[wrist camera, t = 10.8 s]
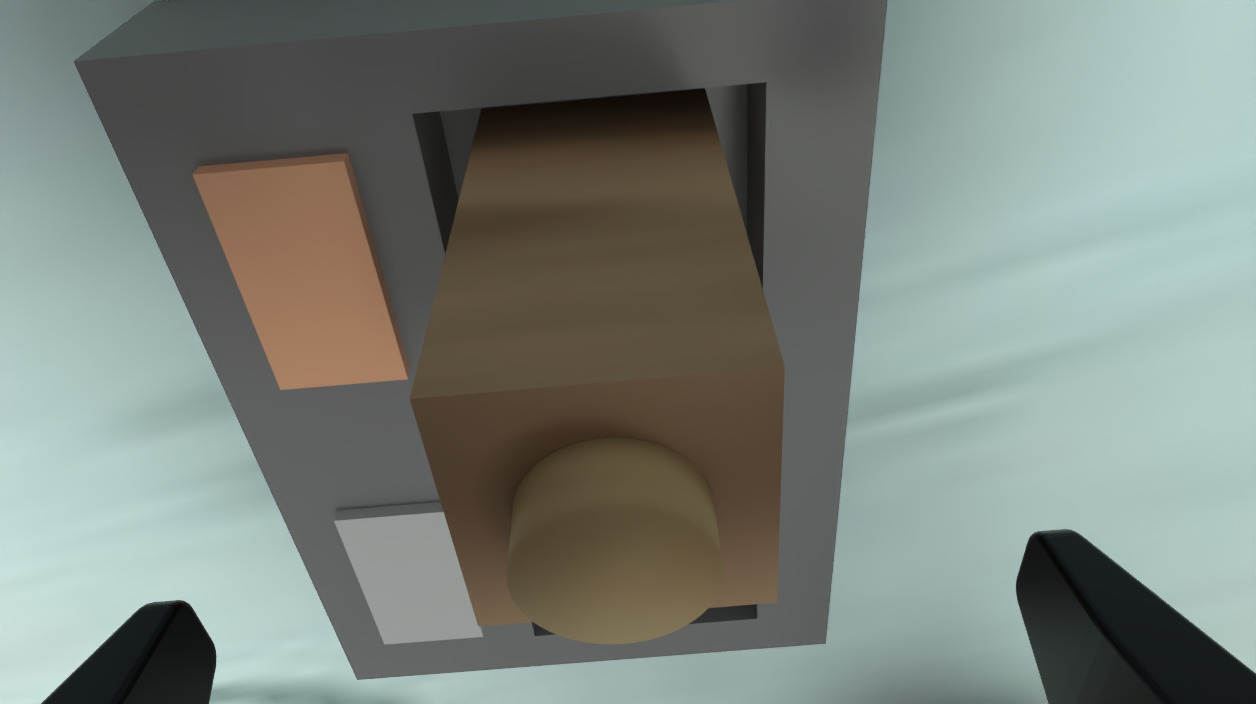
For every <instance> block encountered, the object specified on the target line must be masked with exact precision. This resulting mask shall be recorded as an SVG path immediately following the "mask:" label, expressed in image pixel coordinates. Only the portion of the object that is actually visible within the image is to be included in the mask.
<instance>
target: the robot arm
mask: <svg viewBox="0 0 1256 704" xmlns="http://www.w3.org/2000/svg"><path fill="white" fill-rule="evenodd" d="M1016 594H1017V600H1018V604H1019V607H1020V611H1021V614H1022V617H1023V620H1024V624H1025V627H1026V630H1027V634H1028V637H1029V640H1030V644H1031V647H1032V650H1033V654H1034V657H1035V660H1036V663H1037V667H1038V670H1039V673H1040V677H1041V680H1042V683H1043V687H1044V690H1045V693H1046V696H1047V700H1048V703H1049V704H1256V673H1254V672H1253V671H1252V670H1251V669H1249V668H1248V667H1247V666H1246V665H1244V664H1243V663H1242V662H1241V661H1239V660H1238V659H1237V658H1236V657H1234V656H1233V655H1232V654H1230V653H1229V652H1228V651H1227V650H1225V649H1224V648H1223V647H1222V646H1220V645H1219V644H1218V643H1217V642H1215V641H1214V640H1213V639H1212V638H1210V637H1209V636H1208V635H1207V634H1205V633H1204V632H1203V631H1201V630H1200V629H1199V628H1198V627H1196V626H1195V625H1194V624H1193V623H1191V622H1190V621H1189V620H1188V619H1186V618H1185V617H1184V616H1183V615H1181V614H1180V613H1179V612H1177V611H1176V610H1175V609H1174V608H1172V607H1171V606H1170V605H1169V604H1167V603H1166V602H1165V601H1164V600H1162V599H1161V598H1160V597H1159V596H1157V595H1156V594H1155V593H1154V592H1152V591H1151V590H1150V589H1148V588H1147V587H1146V586H1145V585H1143V584H1142V583H1141V582H1140V581H1138V580H1137V579H1136V578H1135V577H1133V576H1132V575H1131V574H1130V573H1128V572H1127V571H1126V570H1125V569H1123V568H1122V567H1121V566H1119V565H1118V564H1117V563H1116V562H1114V561H1113V560H1112V559H1111V558H1109V557H1108V556H1107V555H1106V554H1104V553H1103V552H1102V551H1101V550H1099V549H1098V548H1097V547H1095V546H1094V545H1093V544H1092V543H1090V542H1089V541H1088V540H1087V539H1085V538H1084V537H1083V536H1082V535H1080V534H1079V533H1077V532H1075V531H1072V530H1067V529H1062V530H1049V531H1038V532H1035V533H1034V534H1032V535H1031V536H1030V538H1029V540H1028V543H1027V546H1026V549H1025V553H1024V556H1023V560H1022V563H1021V566H1020V570H1019V573H1018V576H1017V581H1016ZM215 669H216V650H215V646H214V643H213V641H212V640H211V638H210V636H209V635H208V633H207V631H206V630H205V628H204V626H203V625H202V623H201V621H200V620H199V618H198V616H197V615H196V613H195V611H194V610H193V608H192V607H191V605H190V604H188V603H187V602H185V601H182V600H176V601H164V602H153V603H149V604H146V605H144V606H143V607H141V608H140V609H138V610H137V611H136V612H135V613H134V614H133V615H132V616H131V617H130V618H129V619H128V620H127V621H126V622H125V623H124V624H123V625H122V626H121V627H120V628H119V629H118V630H117V631H115V632H114V633H113V634H112V635H111V636H110V637H109V638H108V639H107V640H106V641H105V642H104V643H103V644H102V645H101V646H100V647H99V648H98V649H97V650H96V651H95V652H94V653H93V654H92V655H91V656H90V657H89V658H88V659H87V660H86V661H84V662H83V663H82V664H81V665H80V666H79V667H78V668H77V669H76V670H75V671H74V672H73V673H72V674H71V675H70V676H69V677H68V678H67V679H66V680H65V681H64V682H63V683H62V684H61V685H60V686H59V687H58V688H57V689H56V690H55V691H54V692H52V693H51V694H50V695H49V696H48V697H47V698H46V699H45V700H44V701H43V702H42V703H41V704H209V701H210V696H211V690H212V685H213V679H214V674H215Z"/></svg>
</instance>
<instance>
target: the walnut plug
mask: <svg viewBox="0 0 1256 704" xmlns="http://www.w3.org/2000/svg"><path fill="white" fill-rule="evenodd" d="M784 379H785V365H784V362H783V358H782V355H781V351H780V348H779V344H778V341H777V338H776V334H775V331H774V327H773V324H772V320H771V317H770V313H769V310H768V306H767V303H766V299H765V296H764V292H763V289H762V285H761V282H760V278H759V275H758V271H757V268H756V264H755V261H754V257H753V254H752V250H751V247H750V243H749V240H748V236H747V233H746V229H745V226H744V223H743V219H742V216H741V212H740V209H739V205H738V202H737V198H736V195H735V191H734V188H733V184H732V181H731V177H730V174H729V170H728V167H727V163H726V160H725V156H724V153H723V149H722V146H721V142H720V139H719V135H718V132H717V128H716V125H715V121H714V118H713V114H712V111H711V107H710V104H709V101H708V97H707V94H706V90H705V89H697V90H686V91H676V92H665V93H654V94H643V95H632V96H621V97H611V98H600V99H589V100H578V101H567V102H556V103H545V104H535V105H524V106H513V107H502V108H491V109H481V113H480V117H479V121H478V125H477V129H476V133H475V137H474V141H473V145H472V149H471V153H470V157H469V161H468V165H467V169H466V173H465V177H464V181H463V185H462V189H461V193H460V197H459V201H458V205H457V209H456V213H455V218H454V222H453V226H452V230H451V234H450V238H449V242H448V246H447V250H446V254H445V258H444V262H443V266H442V270H441V274H440V278H439V282H438V286H437V290H436V294H435V298H434V302H433V306H432V310H431V314H430V318H429V322H428V327H427V331H426V335H425V339H424V343H423V347H422V351H421V355H420V359H419V363H418V367H417V371H416V375H415V379H414V383H413V387H412V391H411V395H410V402H411V405H412V409H413V412H414V415H415V419H416V422H417V425H418V429H419V432H420V435H421V439H422V442H423V445H424V449H425V452H426V455H427V459H428V462H429V465H430V469H431V472H432V475H433V478H434V482H435V485H436V488H437V492H438V495H439V498H440V502H441V505H442V508H443V512H444V515H445V518H446V522H447V525H448V528H449V532H450V535H451V538H452V542H453V545H454V548H455V551H456V555H457V558H458V561H459V565H460V568H461V571H462V575H463V578H464V581H465V585H466V588H467V591H468V595H469V598H470V601H471V605H472V608H473V611H474V615H475V618H476V621H477V625H478V627H479V626H492V625H504V624H516V623H529V622H534V623H535V624H537V625H538V626H540V627H542V628H544V629H546V630H547V631H549V632H552V633H554V634H557V635H559V636H562V637H565V638H569V639H572V640H576V641H581V642H587V643H595V644H627V643H636V642H641V641H646V640H651V639H654V638H658V637H661V636H664V635H667V634H669V633H672V632H675V631H677V630H679V629H681V628H683V627H685V626H686V625H688V624H689V623H691V622H692V621H694V620H695V619H697V618H698V617H699V616H700V615H702V614H703V613H704V612H705V611H706V610H707V609H708V608H715V607H728V606H740V605H752V604H765V603H777V589H778V559H779V529H780V499H781V469H782V439H783V409H784Z"/></svg>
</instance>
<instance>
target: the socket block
mask: <svg viewBox="0 0 1256 704" xmlns="http://www.w3.org/2000/svg"><path fill="white" fill-rule="evenodd" d="M886 8H887V0H173V1H163V2H153V3H151V4H150V5H149V6H147V7H146V8H145V9H143V10H142V11H141V12H139V13H138V14H137V15H135V16H134V17H133V18H131V19H130V20H129V21H127V22H126V23H125V24H123V25H122V26H121V27H119V28H118V29H116V30H115V31H114V32H112V33H111V34H110V35H108V36H107V37H106V38H104V39H103V40H102V41H100V42H99V43H98V44H96V45H95V46H94V47H92V48H91V49H90V50H88V51H87V52H85V53H84V54H83V55H81V56H80V57H79V58H77V59H76V60H75V61H74V63H75V65H76V67H77V70H78V72H79V74H80V76H81V78H82V81H83V83H84V85H85V87H86V89H87V91H88V94H89V96H90V98H91V100H92V102H93V105H94V107H95V109H96V111H97V113H98V115H99V118H100V120H101V122H102V124H103V126H104V129H105V131H106V133H107V135H108V137H109V139H110V142H111V144H112V146H113V148H114V150H115V152H116V155H117V157H118V159H119V161H120V163H121V166H122V168H123V170H124V172H125V174H126V176H127V179H128V181H129V183H130V185H131V187H132V190H133V192H134V194H135V196H136V198H137V200H138V203H139V205H140V207H141V209H142V211H143V214H144V216H145V218H146V220H147V222H148V224H149V227H150V229H151V231H152V233H153V235H154V238H155V240H156V242H157V244H158V246H159V248H160V251H161V253H162V255H163V257H164V259H165V262H166V264H167V266H168V268H169V270H170V272H171V275H172V277H173V279H174V281H175V283H176V286H177V288H178V290H179V292H180V294H181V296H182V299H183V301H184V303H185V305H186V307H187V310H188V312H189V314H190V316H191V318H192V320H193V323H194V325H195V327H196V329H197V331H198V334H199V336H200V338H201V340H202V342H203V344H204V347H205V349H206V351H207V353H208V355H209V357H210V360H211V362H212V364H213V366H214V368H215V371H216V373H217V375H218V377H219V379H220V381H221V384H222V386H223V388H224V390H225V392H226V395H227V397H228V399H229V401H230V403H231V405H232V408H233V410H234V412H235V414H236V416H237V419H238V421H239V423H240V425H241V427H242V429H243V432H244V434H245V436H246V438H247V440H248V443H249V445H250V447H251V449H252V451H253V453H254V456H255V458H256V460H257V462H258V464H259V467H260V469H261V471H262V473H263V475H264V477H265V480H266V482H267V484H268V486H269V488H270V491H271V493H272V495H273V497H274V499H275V501H276V504H277V506H278V508H279V510H280V512H281V515H282V517H283V519H284V521H285V523H286V525H287V528H288V530H289V532H290V534H291V536H292V538H293V541H294V543H295V545H296V547H297V549H298V552H299V554H300V556H301V558H302V560H303V562H304V565H305V567H306V569H307V571H308V573H309V576H310V578H311V580H312V582H313V584H314V586H315V589H316V591H317V593H318V595H319V597H320V600H321V602H322V604H323V606H324V608H325V610H326V613H327V615H328V617H329V619H330V621H331V624H332V626H333V628H334V630H335V632H336V634H337V637H338V639H339V641H340V643H341V645H342V648H343V650H344V652H345V654H346V656H347V658H348V661H349V663H350V665H351V667H352V669H353V672H354V674H355V676H356V678H357V680H361V679H374V678H387V677H400V676H413V675H426V674H439V673H452V672H464V671H477V670H490V669H503V668H516V667H529V666H542V665H555V664H568V663H581V662H593V661H606V660H619V659H632V658H645V657H658V656H671V655H684V654H697V653H710V652H722V651H735V650H748V649H761V648H774V647H787V646H800V645H813V644H826V634H827V624H828V613H829V603H830V592H831V582H832V572H833V561H834V551H835V540H836V530H837V519H838V509H839V499H840V488H841V478H842V467H843V457H844V446H845V436H846V426H847V415H848V405H849V394H850V384H851V373H852V363H853V353H854V342H855V332H856V321H857V311H858V300H859V290H860V280H861V269H862V259H863V248H864V238H865V227H866V217H867V207H868V196H869V186H870V175H871V165H872V154H873V144H874V133H875V123H876V113H877V102H878V92H879V81H880V71H881V60H882V50H883V40H884V29H885V19H886ZM697 89H705V90H706V94H707V97H708V101H709V104H710V107H711V111H712V114H713V118H714V121H715V125H716V128H717V132H718V135H719V139H720V142H721V146H722V149H723V153H724V156H725V160H726V163H727V167H728V170H729V174H730V177H731V181H732V184H733V188H734V191H735V195H736V198H737V202H738V205H739V209H740V212H741V216H742V219H743V223H744V226H745V229H746V233H747V236H748V240H749V243H750V247H751V250H752V254H753V257H754V261H755V264H756V268H757V271H758V275H759V278H760V282H761V285H762V289H763V292H764V296H765V299H766V303H767V306H768V310H769V313H770V317H771V320H772V324H773V327H774V331H775V334H776V338H777V341H778V344H779V348H780V351H781V355H782V358H783V362H784V365H785V379H784V409H783V439H782V469H781V499H780V529H779V559H778V589H777V603H765V604H752V605H740V606H728V607H715V608H708V609H707V610H706V611H705V612H704V613H703V614H702V615H700V616H699V617H698V618H697V619H695V620H694V621H692V622H691V623H689V624H688V625H686V626H685V627H683V628H681V629H679V630H677V631H675V632H672V633H669V634H667V635H664V636H661V637H658V638H654V639H651V640H646V641H641V642H636V643H627V644H595V643H587V642H581V641H576V640H572V639H569V638H565V637H562V636H559V635H557V634H554V633H552V632H549V631H547V630H546V629H544V628H542V627H540V626H538V625H537V624H535V623H534V622H529V623H516V624H504V625H492V626H479V627H478V625H477V621H476V618H475V615H474V611H473V608H472V605H471V601H470V598H469V595H468V591H467V588H466V585H465V581H464V578H463V575H462V571H461V568H460V565H459V561H458V558H457V555H456V551H455V548H454V545H453V542H452V538H451V535H450V532H449V528H448V525H447V522H446V518H445V515H444V512H443V508H442V505H441V502H440V498H439V495H438V492H437V488H436V485H435V482H434V478H433V475H432V472H431V469H430V465H429V462H428V459H427V455H426V452H425V449H424V445H423V442H422V439H421V435H420V432H419V429H418V425H417V422H416V419H415V415H414V412H413V409H412V405H411V402H410V395H411V391H412V387H413V383H414V379H415V375H416V371H417V367H418V363H419V359H420V355H421V351H422V347H423V343H424V339H425V335H426V331H427V327H428V322H429V318H430V314H431V310H432V306H433V302H434V298H435V294H436V290H437V286H438V282H439V278H440V274H441V270H442V266H443V262H444V258H445V254H446V250H447V246H448V242H449V238H450V234H451V230H452V226H453V222H454V218H455V213H456V209H457V205H458V201H459V197H460V193H461V189H462V185H463V181H464V177H465V173H466V169H467V165H468V161H469V157H470V153H471V149H472V145H473V141H474V137H475V133H476V129H477V125H478V121H479V117H480V113H481V109H491V108H502V107H513V106H524V105H535V104H545V103H556V102H567V101H578V100H589V99H600V98H611V97H621V96H632V95H643V94H654V93H665V92H676V91H686V90H697Z"/></svg>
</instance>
